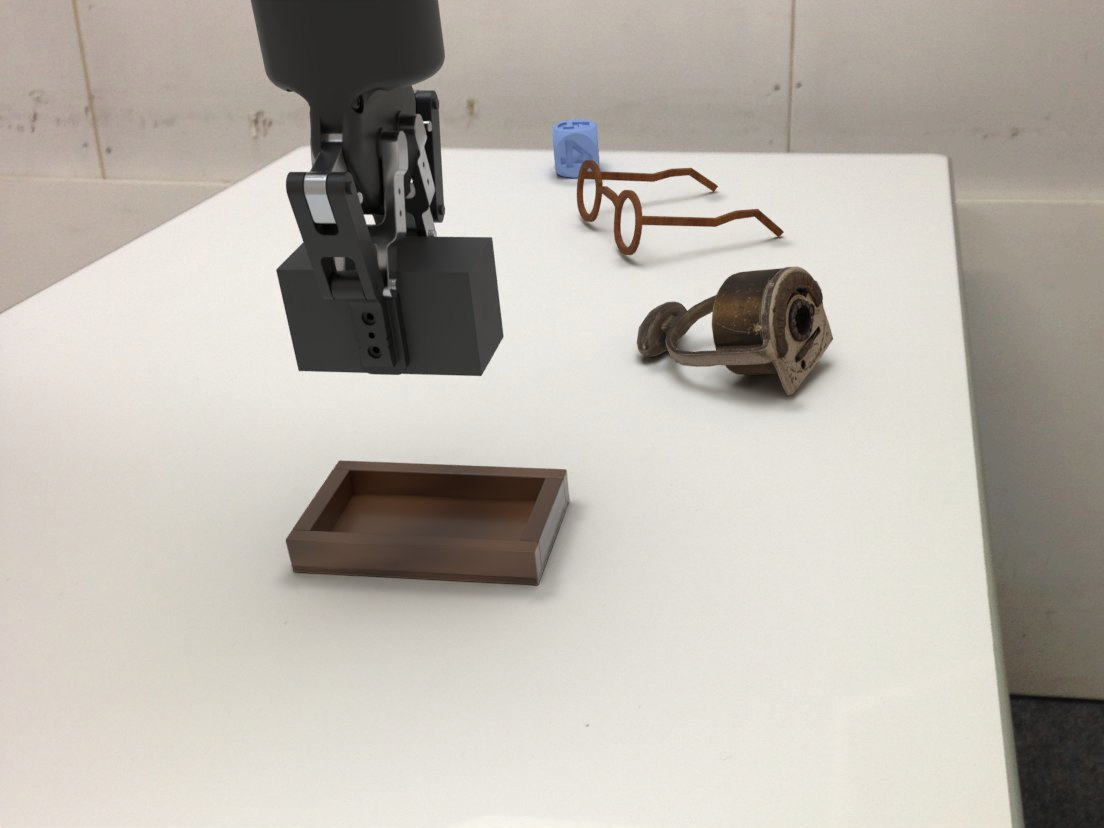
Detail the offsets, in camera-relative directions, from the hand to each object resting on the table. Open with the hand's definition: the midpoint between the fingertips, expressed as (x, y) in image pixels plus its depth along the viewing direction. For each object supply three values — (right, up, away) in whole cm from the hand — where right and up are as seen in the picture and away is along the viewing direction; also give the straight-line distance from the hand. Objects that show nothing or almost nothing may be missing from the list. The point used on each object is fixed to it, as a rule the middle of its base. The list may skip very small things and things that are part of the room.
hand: (403, 346), depth 62 cm
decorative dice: (+6, +28, +55) cm, 62 cm away
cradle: (0, -9, +7) cm, 11 cm away
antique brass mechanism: (+18, +4, +22) cm, 28 cm away
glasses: (+14, +19, +42) cm, 49 cm away
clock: (0, 0, 0) cm, 0 cm away
